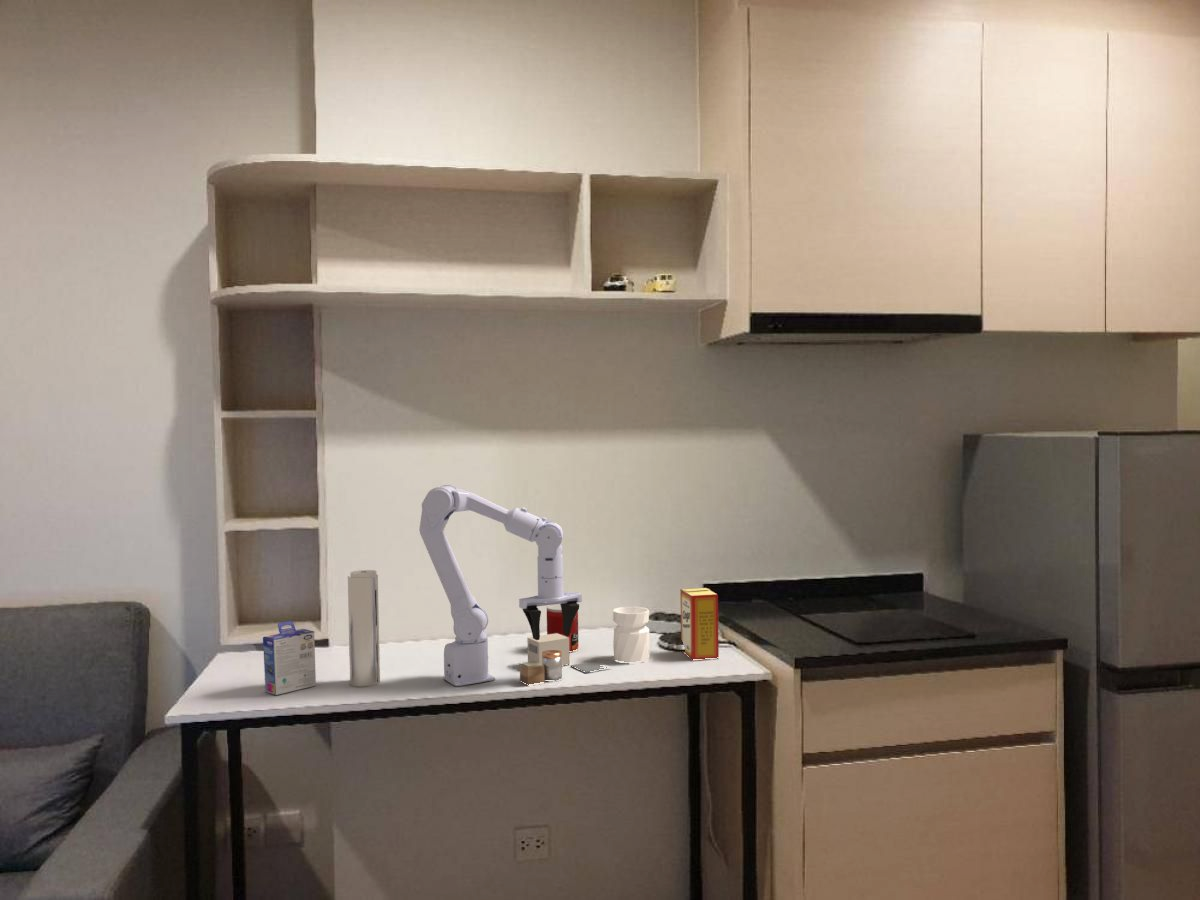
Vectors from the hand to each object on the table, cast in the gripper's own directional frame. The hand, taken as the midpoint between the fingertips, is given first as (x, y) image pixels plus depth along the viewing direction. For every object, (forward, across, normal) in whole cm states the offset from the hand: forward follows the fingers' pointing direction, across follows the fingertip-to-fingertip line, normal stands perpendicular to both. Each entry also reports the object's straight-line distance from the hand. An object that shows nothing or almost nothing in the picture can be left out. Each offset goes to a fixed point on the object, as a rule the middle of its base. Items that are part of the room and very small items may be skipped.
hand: (551, 637), depth 199 cm
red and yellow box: (+10, -40, -1) cm, 41 cm away
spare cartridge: (+9, 0, 0) cm, 9 cm away
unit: (+9, -4, -11) cm, 15 cm away
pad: (+9, -12, -4) cm, 16 cm away
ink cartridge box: (+10, +53, -23) cm, 58 cm away
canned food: (+10, -14, -23) cm, 28 cm away
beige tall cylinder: (+10, +37, -19) cm, 43 cm away
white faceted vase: (+10, -24, -6) cm, 26 cm away
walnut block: (+10, +5, 0) cm, 11 cm away
